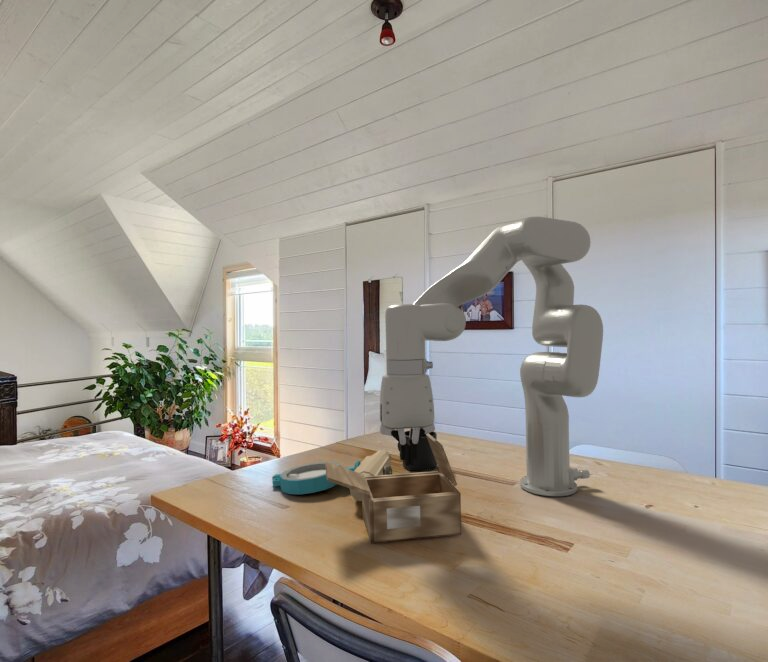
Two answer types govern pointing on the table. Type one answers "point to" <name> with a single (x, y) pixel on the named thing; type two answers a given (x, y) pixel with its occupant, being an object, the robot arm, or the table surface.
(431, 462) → the mug
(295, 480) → the butterfly valve
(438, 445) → the flap
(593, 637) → the table surface
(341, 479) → the flap
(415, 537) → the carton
